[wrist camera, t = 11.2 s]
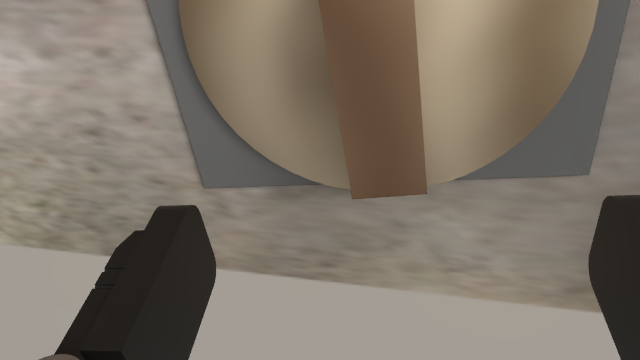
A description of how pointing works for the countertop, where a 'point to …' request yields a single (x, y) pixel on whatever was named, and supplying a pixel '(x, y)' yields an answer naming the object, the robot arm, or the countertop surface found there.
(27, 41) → the countertop surface
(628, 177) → the countertop surface
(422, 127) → the lid
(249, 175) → the mat
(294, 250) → the countertop surface
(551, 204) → the countertop surface
